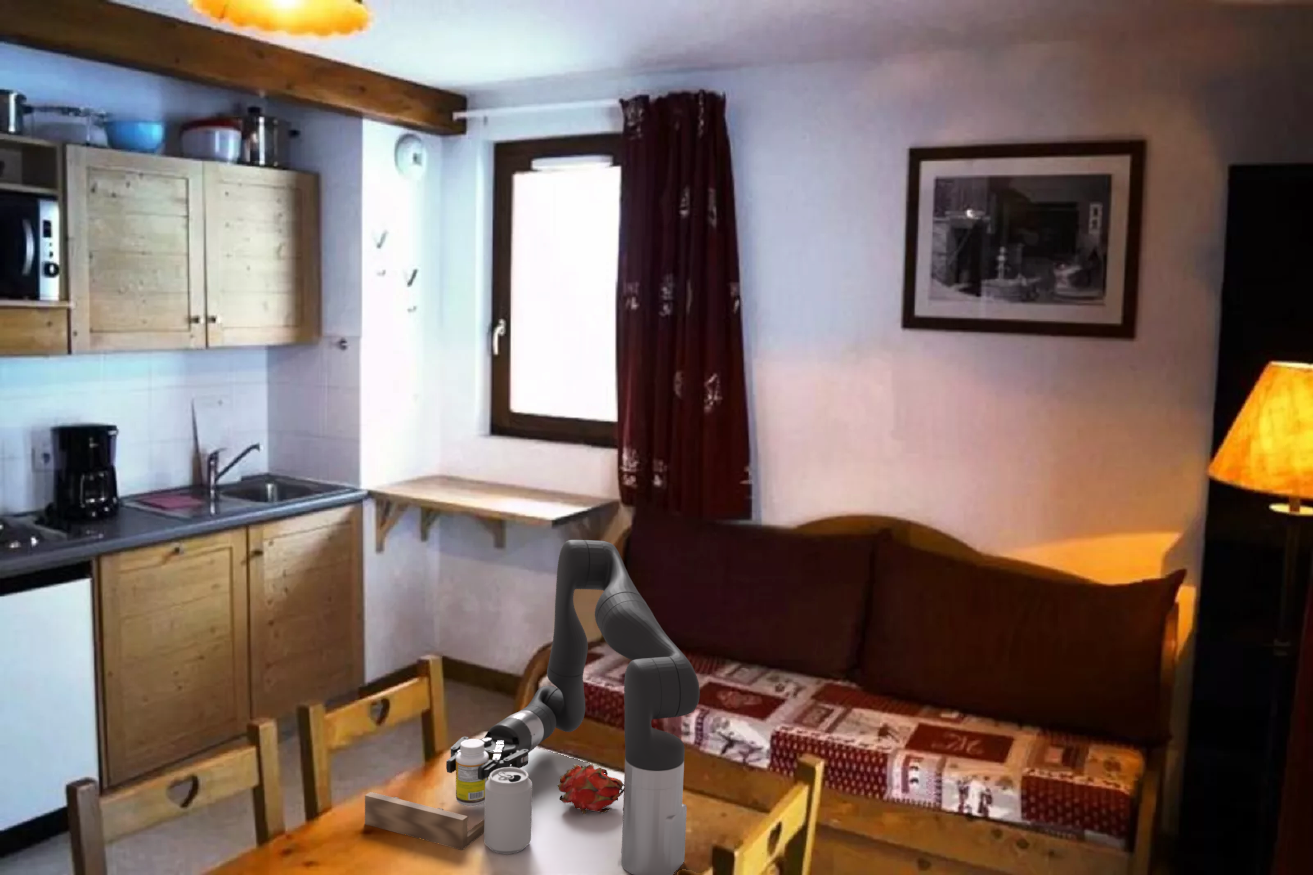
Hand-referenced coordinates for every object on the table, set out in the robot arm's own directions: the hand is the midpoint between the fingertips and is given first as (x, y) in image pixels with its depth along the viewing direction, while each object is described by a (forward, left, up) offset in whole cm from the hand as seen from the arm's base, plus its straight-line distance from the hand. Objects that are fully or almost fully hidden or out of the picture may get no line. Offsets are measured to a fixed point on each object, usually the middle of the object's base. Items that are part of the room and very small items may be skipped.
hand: (464, 770), depth 186 cm
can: (-12, +5, -8) cm, 15 cm away
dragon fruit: (-18, -13, -8) cm, 23 cm away
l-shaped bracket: (+3, +5, -8) cm, 10 cm away
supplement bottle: (0, -3, -6) cm, 7 cm away
